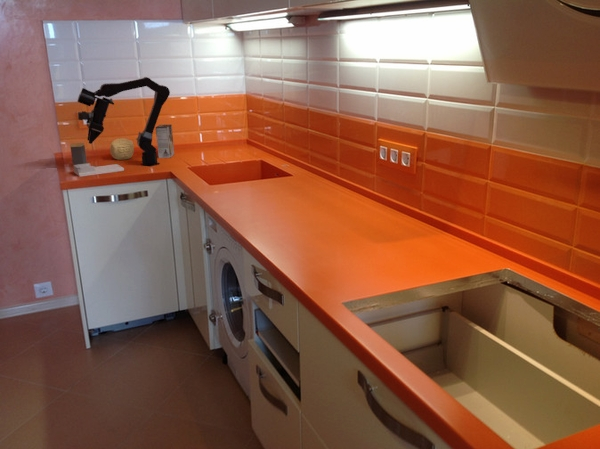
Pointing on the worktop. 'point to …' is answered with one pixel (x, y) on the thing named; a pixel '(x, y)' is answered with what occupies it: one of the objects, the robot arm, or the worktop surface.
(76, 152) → the grey tall block
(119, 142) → the sculpture
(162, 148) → the coffee box
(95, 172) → the notch board
